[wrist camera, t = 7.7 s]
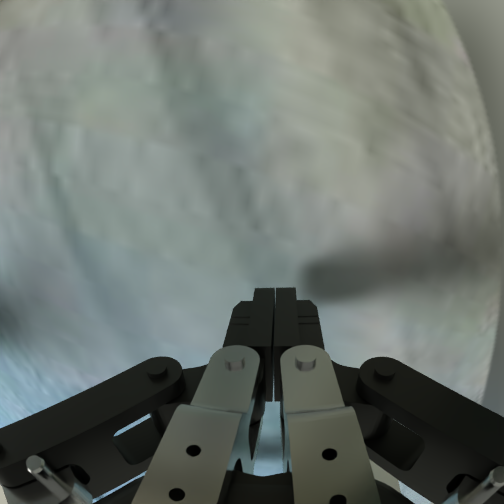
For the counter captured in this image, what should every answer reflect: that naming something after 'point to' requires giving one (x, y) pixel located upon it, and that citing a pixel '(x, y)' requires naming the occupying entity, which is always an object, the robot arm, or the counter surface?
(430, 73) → the counter surface
